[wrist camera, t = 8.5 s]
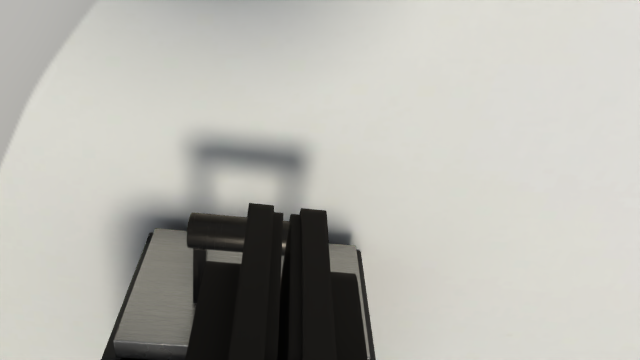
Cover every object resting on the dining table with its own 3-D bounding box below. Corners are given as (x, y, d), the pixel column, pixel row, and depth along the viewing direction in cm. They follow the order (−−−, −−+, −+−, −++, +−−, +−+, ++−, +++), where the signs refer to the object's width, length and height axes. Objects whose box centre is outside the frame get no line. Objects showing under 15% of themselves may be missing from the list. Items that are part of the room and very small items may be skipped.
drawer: (151, 152, 27) (102, 256, 20) (372, 174, 28) (393, 280, 21) (162, 375, 37) (131, 493, 30) (323, 385, 38) (327, 500, 31)
